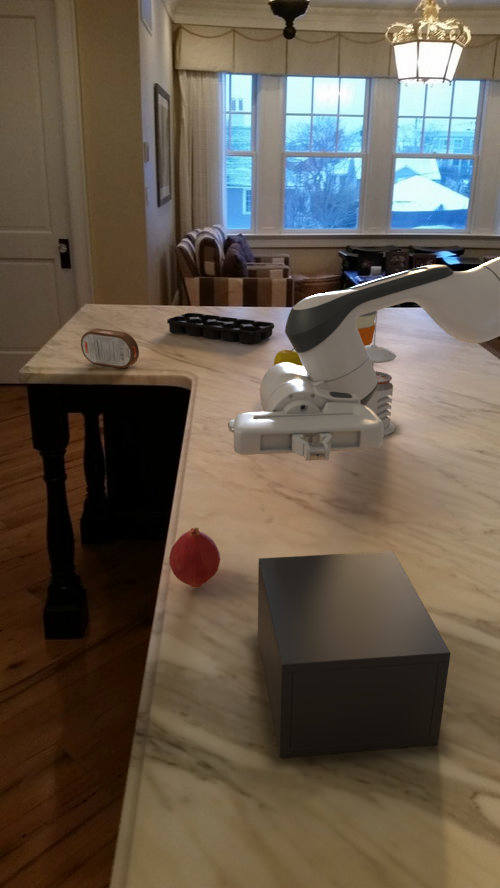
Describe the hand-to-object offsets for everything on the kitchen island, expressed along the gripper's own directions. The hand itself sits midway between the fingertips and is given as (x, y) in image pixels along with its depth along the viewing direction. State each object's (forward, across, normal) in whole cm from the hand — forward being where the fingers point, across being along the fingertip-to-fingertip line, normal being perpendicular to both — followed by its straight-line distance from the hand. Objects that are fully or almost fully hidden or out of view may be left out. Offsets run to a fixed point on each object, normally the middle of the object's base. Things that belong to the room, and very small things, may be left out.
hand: (317, 455), depth 88 cm
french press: (-38, +17, +12) cm, 43 cm away
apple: (-67, +7, +12) cm, 69 cm away
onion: (+10, -16, +12) cm, 22 cm away
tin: (-84, -33, +12) cm, 91 cm away
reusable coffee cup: (-82, +24, +12) cm, 86 cm away
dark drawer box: (+28, -3, +12) cm, 30 cm away
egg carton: (-112, -5, +12) cm, 113 cm away
